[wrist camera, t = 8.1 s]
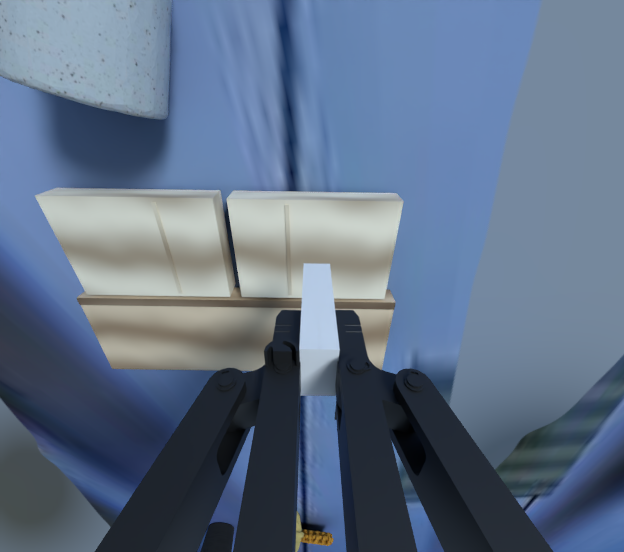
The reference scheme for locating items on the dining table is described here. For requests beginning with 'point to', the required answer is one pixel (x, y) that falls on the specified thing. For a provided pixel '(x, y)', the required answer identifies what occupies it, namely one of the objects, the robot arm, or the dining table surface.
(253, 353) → the laid board
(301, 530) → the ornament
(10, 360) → the dining table surface
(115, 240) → the plank
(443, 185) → the dining table surface
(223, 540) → the drinking cup
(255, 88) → the dining table surface
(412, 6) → the dining table surface
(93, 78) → the ceramic mug
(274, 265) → the plank
